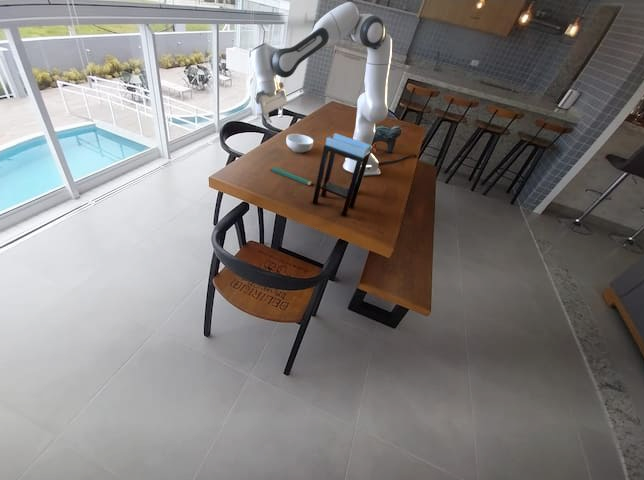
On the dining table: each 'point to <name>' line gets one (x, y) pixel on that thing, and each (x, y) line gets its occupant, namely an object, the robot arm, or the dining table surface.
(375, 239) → the dining table surface
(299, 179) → the pencil
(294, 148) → the cereal bowl
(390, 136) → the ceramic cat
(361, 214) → the dining table surface
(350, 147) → the tray
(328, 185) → the stool
